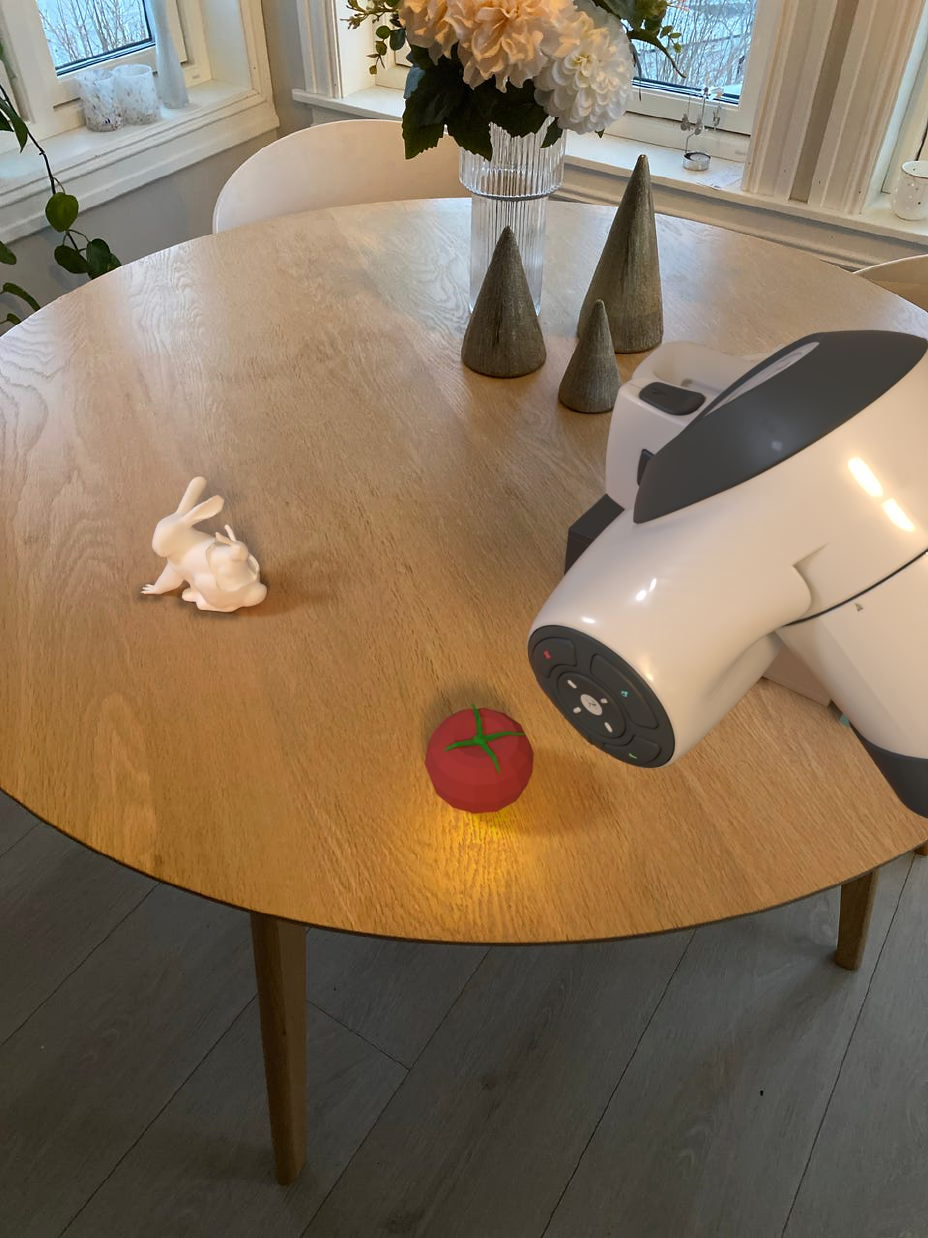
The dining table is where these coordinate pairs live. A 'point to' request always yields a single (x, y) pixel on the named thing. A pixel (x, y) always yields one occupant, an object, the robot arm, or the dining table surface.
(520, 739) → the tomato
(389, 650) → the dining table surface
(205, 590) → the rabbit figurine
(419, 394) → the dining table surface
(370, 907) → the dining table surface
